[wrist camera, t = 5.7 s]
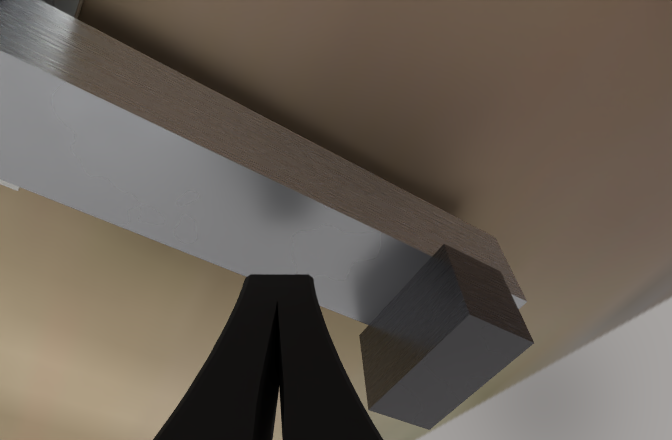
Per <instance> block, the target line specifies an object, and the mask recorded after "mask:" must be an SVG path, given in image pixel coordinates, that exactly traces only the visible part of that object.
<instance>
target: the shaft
mask: <svg viewBox="0 0 672 440" xmlns="http://www.w3.org/2000/svg"><path fill="white" fill-rule="evenodd" d="M0 179H1V180H3V181H6V182H8V183H11V184H13V185H16V186H18V187H21V188H23V189H26V190H28V191H31V192H33V193H36V194H39V195H41V196H44V197H46V198H49V199H51V200H54V201H56V202H59V203H61V204H64V205H66V206H69V207H71V208H74V209H76V210H79V211H82V212H84V213H87V214H89V215H92V216H94V217H97V218H99V219H102V220H104V221H107V222H109V223H112V224H114V225H117V226H119V227H122V228H125V229H127V230H130V231H132V232H135V233H137V234H140V235H142V236H145V237H147V238H150V239H152V240H155V241H157V242H160V243H162V244H165V245H168V246H170V247H173V248H175V249H178V250H180V251H183V252H185V253H188V254H190V255H193V256H195V257H198V258H200V259H203V260H206V261H208V262H211V263H213V264H216V265H218V266H221V267H223V268H226V269H228V270H231V271H233V272H236V273H238V274H241V275H243V276H246V277H248V276H249V275H250V274H309V275H310V276H311V277H312V278H313V279H314V286H315V291H316V295H317V299H318V303H319V306H322V307H324V308H327V309H329V310H332V311H335V312H337V313H340V314H342V315H345V316H347V317H350V318H352V319H355V320H357V321H360V322H362V323H365V324H367V325H368V327H367V328H366V329H365V330H364V331H363V332H362V333H361V334H360V335H359V336H360V344H361V352H362V360H363V368H364V377H365V385H366V393H367V401H368V410H370V411H373V412H376V413H379V414H383V415H386V416H389V417H392V418H395V419H398V420H401V421H404V422H407V423H410V424H413V425H416V426H419V427H423V428H426V429H429V430H430V429H431V428H432V427H433V426H434V425H436V424H437V423H438V422H439V421H440V420H442V419H443V418H444V417H445V416H447V415H448V414H449V413H450V412H451V411H453V410H454V409H455V408H456V407H457V406H459V405H460V404H461V403H462V402H463V401H465V400H466V399H467V398H468V397H469V396H471V395H472V394H473V393H474V392H476V391H477V390H478V389H479V388H480V387H482V386H483V385H484V384H485V383H486V382H488V381H489V380H490V379H491V378H492V377H494V376H495V375H496V374H497V373H498V372H500V371H501V370H502V369H503V368H504V367H506V366H507V365H508V364H509V363H511V362H512V361H513V360H514V359H515V358H517V357H518V356H519V355H520V354H521V353H523V352H524V351H525V350H526V349H527V348H529V347H530V346H531V345H532V344H533V343H534V342H533V339H532V337H531V335H530V333H529V331H528V329H527V327H526V325H525V322H524V320H523V318H522V316H521V314H520V312H519V310H518V309H519V308H521V307H522V306H523V305H524V304H525V303H526V302H527V300H526V298H525V296H524V294H523V292H522V290H521V288H520V286H519V284H518V282H517V280H516V278H515V276H514V274H513V272H512V270H511V268H510V266H509V264H508V262H507V260H506V258H505V256H504V254H503V252H502V250H501V248H500V246H499V244H498V242H497V240H496V238H495V237H494V236H492V235H490V234H488V233H486V232H484V231H482V230H480V229H478V228H476V227H474V226H472V225H471V224H469V223H467V222H465V221H463V220H461V219H459V218H457V217H455V216H453V215H451V214H449V213H448V212H446V211H444V210H442V209H440V208H438V207H436V206H434V205H432V204H430V203H428V202H426V201H425V200H423V199H421V198H419V197H417V196H415V195H413V194H411V193H409V192H407V191H405V190H404V189H402V188H400V187H398V186H396V185H394V184H392V183H390V182H388V181H386V180H384V179H382V178H381V177H379V176H377V175H375V174H373V173H371V172H369V171H367V170H365V169H363V168H361V167H359V166H358V165H356V164H354V163H352V162H350V161H348V160H346V159H344V158H342V157H340V156H338V155H336V154H335V153H333V152H331V151H329V150H327V149H325V148H323V147H321V146H319V145H317V144H315V143H313V142H312V141H310V140H308V139H306V138H304V137H302V136H300V135H298V134H296V133H294V132H292V131H290V130H289V129H287V128H285V127H283V126H281V125H279V124H277V123H275V122H273V121H271V120H269V119H268V118H266V117H264V116H262V115H260V114H258V113H256V112H254V111H252V110H250V109H248V108H246V107H245V106H243V105H241V104H239V103H237V102H235V101H233V100H231V99H229V98H227V97H225V96H223V95H222V94H220V93H218V92H216V91H214V90H212V89H210V88H208V87H206V86H204V85H202V84H200V83H199V82H197V81H195V80H193V79H191V78H189V77H187V76H185V75H183V74H181V73H179V72H177V71H176V70H174V69H172V68H170V67H168V66H166V65H164V64H162V63H160V62H158V61H156V60H154V59H153V58H151V57H149V56H147V55H145V54H143V53H141V52H139V51H137V50H135V49H133V48H131V47H130V46H128V45H126V44H124V43H122V42H120V41H118V40H116V39H114V38H112V37H110V36H109V35H107V34H105V33H103V32H101V31H99V30H97V29H95V28H93V27H91V26H89V25H87V24H86V23H84V22H82V21H80V20H78V19H76V18H74V17H72V16H70V15H68V14H66V13H64V12H63V11H61V10H59V9H57V8H55V7H53V6H51V5H49V4H47V3H45V2H43V1H41V0H0Z"/></svg>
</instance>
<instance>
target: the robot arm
mask: <svg viewBox="0 0 672 440" xmlns="http://www.w3.org/2000/svg"><path fill="white" fill-rule="evenodd" d="M279 386H280V403H281V420H282V437H283V440H383V439H382V437H381V435H380V434H379V432H378V430H377V429H376V427H375V425H374V424H373V422H372V420H371V419H370V417H369V415H368V413H367V412H366V410H365V408H364V406H363V404H362V403H361V401H360V399H359V397H358V395H357V393H356V391H355V389H354V387H353V385H352V383H351V381H350V379H349V377H348V375H347V373H346V371H345V369H344V367H343V365H342V363H341V361H340V358H339V356H338V354H337V351H336V349H335V347H334V344H333V342H332V339H331V337H330V335H329V332H328V329H327V327H326V324H325V321H324V318H323V315H322V312H321V309H320V306H319V303H318V299H317V295H316V291H315V286H314V279H313V278H312V277H311V276H310V275H309V274H250V275H249V276H248V277H246V278H245V281H244V284H243V287H242V290H241V292H240V295H239V297H238V300H237V302H236V304H235V307H234V309H233V311H232V313H231V315H230V317H229V319H228V321H227V323H226V325H225V327H224V329H223V331H222V333H221V335H220V337H219V339H218V340H217V342H216V344H215V346H214V348H213V350H212V351H211V353H210V355H209V357H208V358H207V360H206V362H205V363H204V365H203V367H202V368H201V370H200V371H199V373H198V375H197V376H196V378H195V380H194V381H193V383H192V384H191V386H190V388H189V389H188V391H187V392H186V394H185V395H184V397H183V398H182V400H181V401H180V403H179V404H178V406H177V407H176V409H175V410H174V412H173V413H172V414H171V416H170V417H169V419H168V420H167V421H166V423H165V424H164V425H163V427H162V428H161V430H160V431H159V432H158V434H157V435H156V436H155V438H154V439H153V440H272V438H273V431H274V423H275V415H276V408H277V400H278V392H279Z"/></svg>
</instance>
